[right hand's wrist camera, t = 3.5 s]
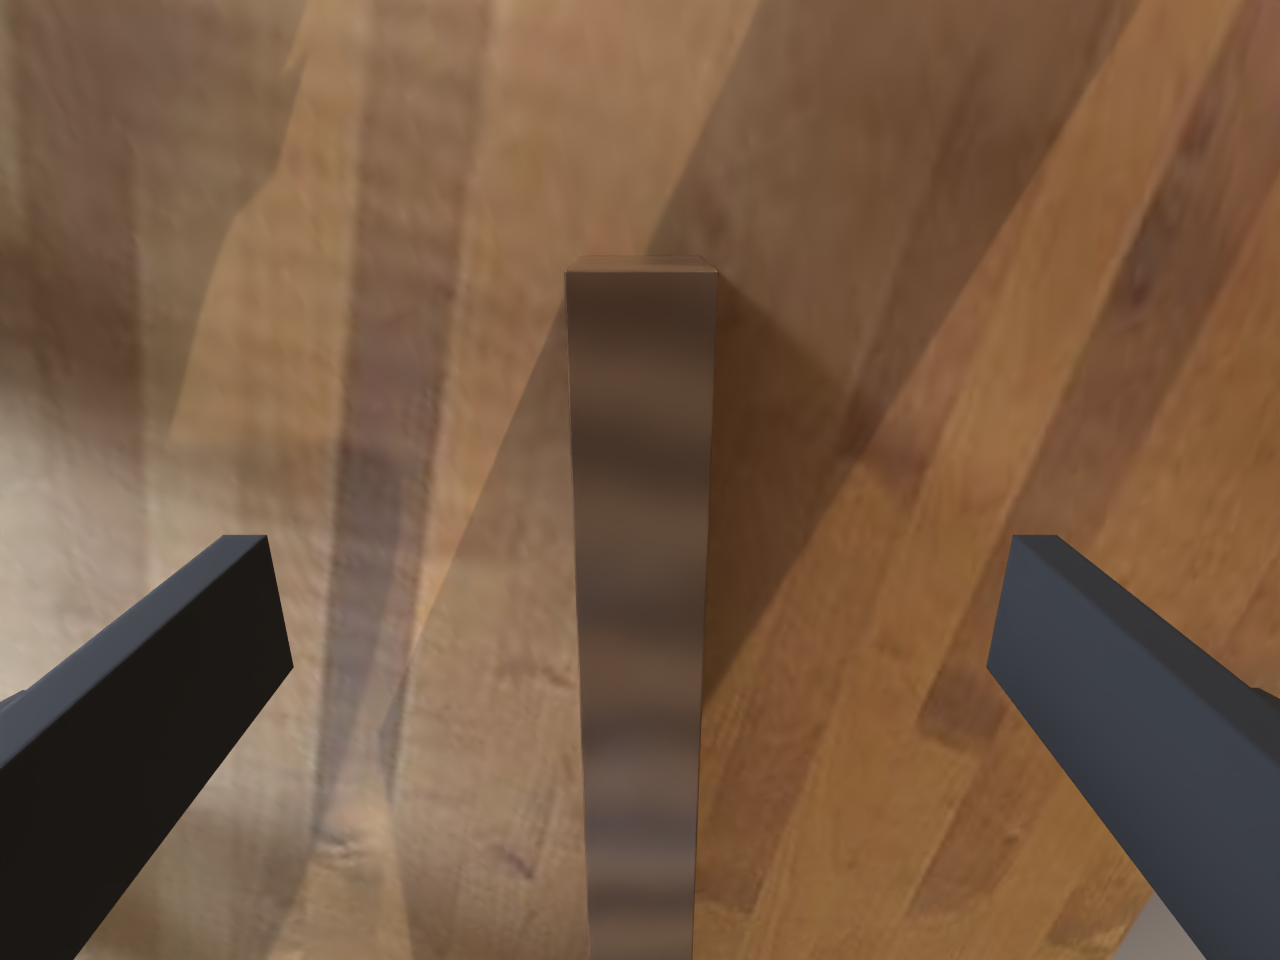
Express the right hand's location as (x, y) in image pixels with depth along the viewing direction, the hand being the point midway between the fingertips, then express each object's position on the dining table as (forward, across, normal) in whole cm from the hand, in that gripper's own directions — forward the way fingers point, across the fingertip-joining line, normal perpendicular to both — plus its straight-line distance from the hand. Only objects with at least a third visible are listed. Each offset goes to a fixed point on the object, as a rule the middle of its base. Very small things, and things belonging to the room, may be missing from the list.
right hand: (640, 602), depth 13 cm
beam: (+24, 0, -22) cm, 32 cm away
